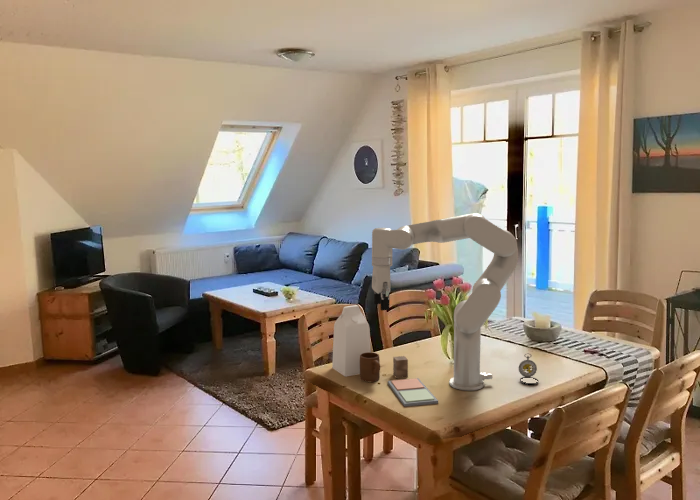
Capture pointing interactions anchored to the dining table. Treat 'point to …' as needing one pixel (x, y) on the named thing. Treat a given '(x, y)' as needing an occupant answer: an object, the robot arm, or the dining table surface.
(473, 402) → the dining table surface
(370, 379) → the mug
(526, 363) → the pocket watch
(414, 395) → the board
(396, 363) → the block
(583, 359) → the dining table surface
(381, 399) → the dining table surface
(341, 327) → the milk
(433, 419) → the dining table surface
